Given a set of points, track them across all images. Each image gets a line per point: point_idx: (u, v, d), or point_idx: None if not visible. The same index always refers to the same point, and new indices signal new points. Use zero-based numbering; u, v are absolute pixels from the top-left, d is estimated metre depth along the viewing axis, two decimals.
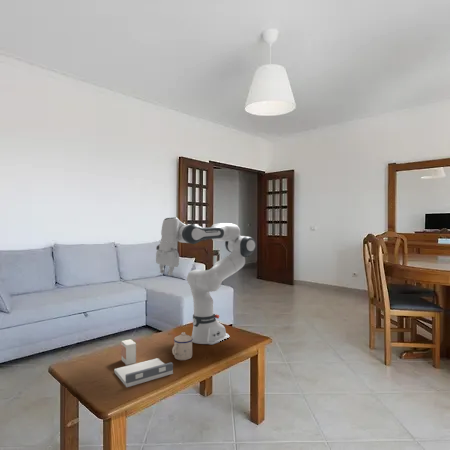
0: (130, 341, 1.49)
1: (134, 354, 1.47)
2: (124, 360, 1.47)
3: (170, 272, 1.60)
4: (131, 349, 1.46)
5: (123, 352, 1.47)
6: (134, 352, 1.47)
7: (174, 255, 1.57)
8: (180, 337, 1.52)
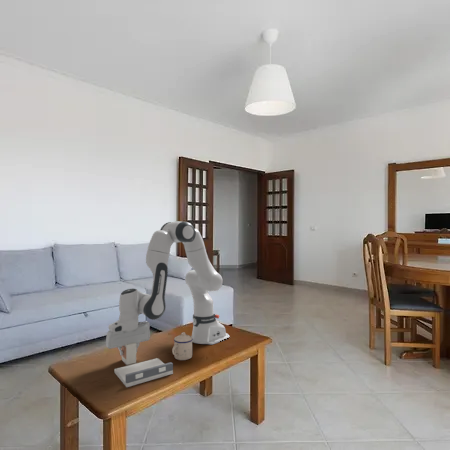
0: None
1: (134, 354, 1.47)
2: (124, 360, 1.47)
3: None
4: (131, 349, 1.46)
5: None
6: (134, 352, 1.47)
7: (148, 328, 1.54)
8: (180, 337, 1.52)
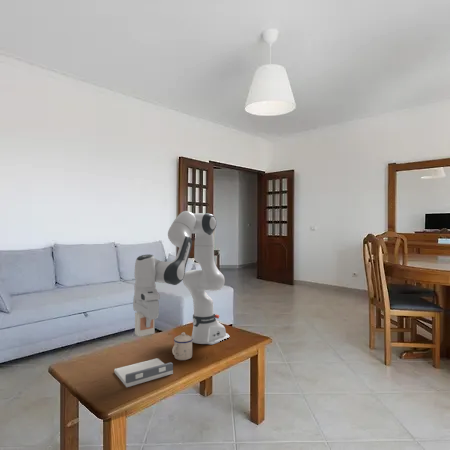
0: None
1: None
2: (148, 331, 1.34)
3: None
4: None
5: None
6: None
7: None
8: (180, 337, 1.52)
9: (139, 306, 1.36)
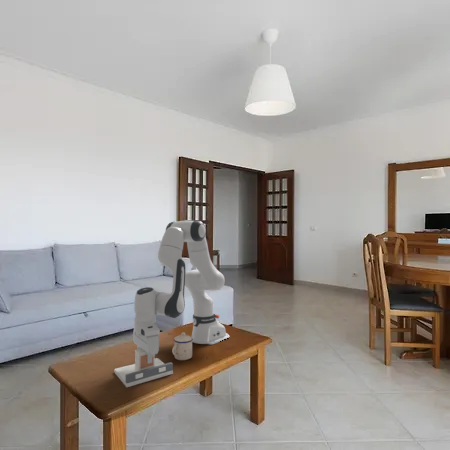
0: None
1: None
2: None
3: None
4: None
5: None
6: None
7: None
8: (180, 337, 1.52)
9: (139, 339, 1.36)
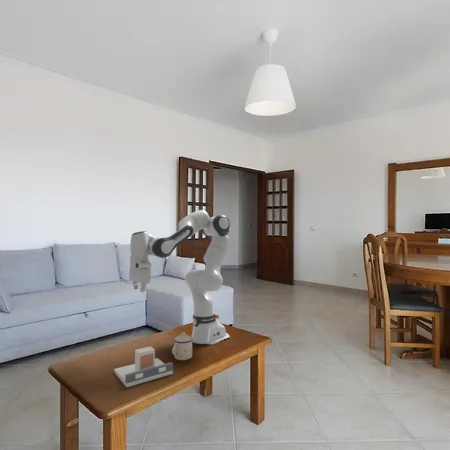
0: (144, 348, 1.36)
1: None
2: None
3: None
4: None
5: (147, 361, 1.33)
6: None
7: None
8: (180, 337, 1.52)
9: (134, 274, 1.61)
